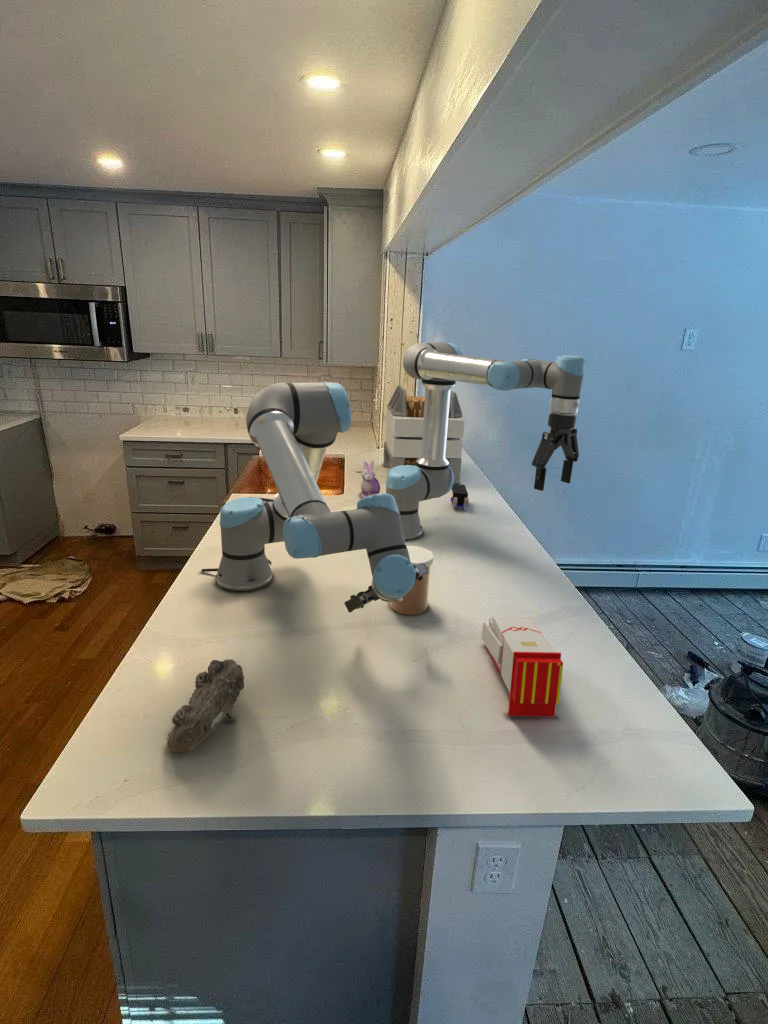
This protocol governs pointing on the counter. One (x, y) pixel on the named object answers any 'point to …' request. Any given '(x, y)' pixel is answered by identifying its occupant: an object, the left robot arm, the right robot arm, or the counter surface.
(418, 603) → the jar
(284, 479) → the left robot arm
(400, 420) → the white wooden crate
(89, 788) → the counter surface
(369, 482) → the figurine
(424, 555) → the lid
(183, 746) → the fossil
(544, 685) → the toy
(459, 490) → the figurine character
